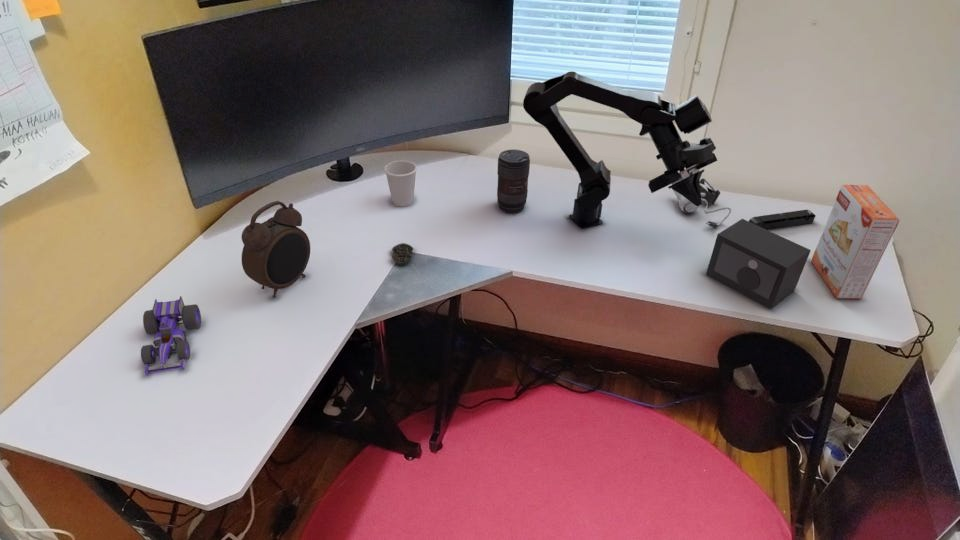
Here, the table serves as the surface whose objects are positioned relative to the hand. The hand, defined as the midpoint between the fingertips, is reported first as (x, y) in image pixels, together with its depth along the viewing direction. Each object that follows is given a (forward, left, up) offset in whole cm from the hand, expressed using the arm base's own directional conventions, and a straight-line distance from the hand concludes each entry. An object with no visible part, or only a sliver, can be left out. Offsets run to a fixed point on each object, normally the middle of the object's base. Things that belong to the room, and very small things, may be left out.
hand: (699, 205), depth 141 cm
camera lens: (-29, +36, -13) cm, 48 cm away
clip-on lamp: (+15, +13, -13) cm, 24 cm away
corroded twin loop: (-63, +27, -13) cm, 69 cm away
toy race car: (-114, +18, -13) cm, 116 cm away
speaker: (+4, -16, -12) cm, 20 cm away
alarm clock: (-90, +28, -13) cm, 95 cm away
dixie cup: (-54, +51, -13) cm, 75 cm away
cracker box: (+22, -23, -13) cm, 35 cm away
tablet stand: (+29, -1, -13) cm, 32 cm away
